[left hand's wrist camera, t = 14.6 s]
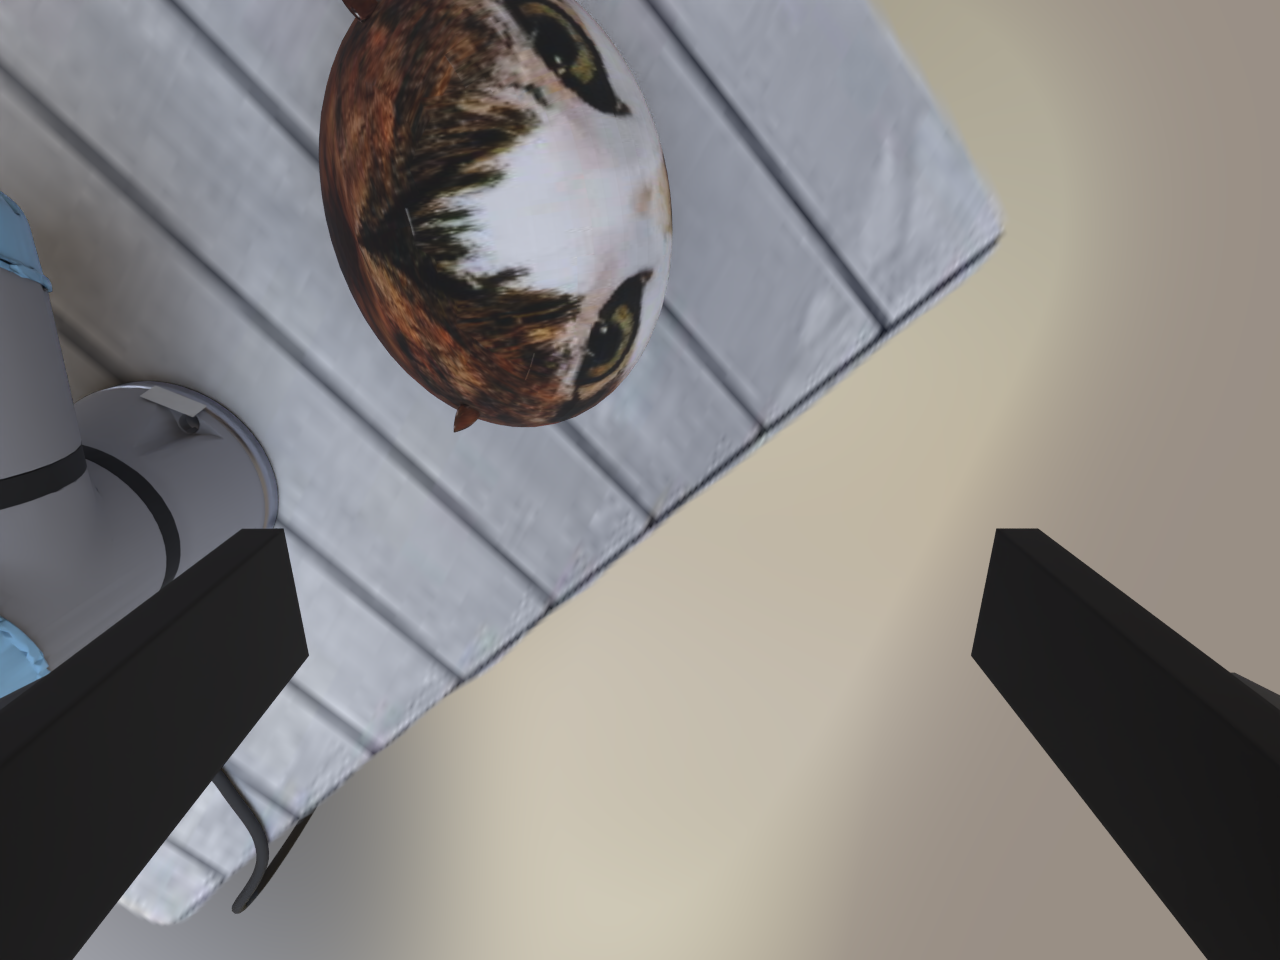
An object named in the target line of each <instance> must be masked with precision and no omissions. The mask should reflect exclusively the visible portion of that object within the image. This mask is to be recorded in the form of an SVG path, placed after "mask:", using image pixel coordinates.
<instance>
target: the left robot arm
mask: <svg viewBox="0 0 1280 960" xmlns="http://www.w3.org/2000/svg"><path fill="white" fill-rule="evenodd" d="M48 292H52V285H51V282H50V280H49V279H48V278H47V277H46V276H45V275H43V272H42V269H41V265H40V261H39V258H38V254H37V251H36V247H35V244H34V240H33V237H32V233H31V230H30V226H29V223H28V221H27V219H26V217H25V215H24V213H23V211H22V210H21V209H20V207H19V206H18V205H17V204H16V203H15V202H14V201H13V200H12V199H11V198H9V197H8V196H7V195H5V194H4V193H3V192H1V191H0V960H73V958H74V957H75V956H76V954H77V953H78V952H79V951H80V949H81V948H82V947H83V945H84V944H85V943H86V942H87V940H88V939H89V938H90V936H91V935H92V934H93V933H94V931H95V930H96V929H97V927H98V926H99V925H100V924H101V922H102V921H103V920H104V918H105V917H106V916H107V915H108V913H109V912H110V911H111V909H112V908H113V907H114V906H115V904H116V903H117V902H118V900H119V899H120V898H121V897H122V895H123V894H124V893H125V891H126V890H127V889H128V888H129V886H130V885H131V884H132V882H133V881H134V880H135V879H136V877H137V876H138V875H139V873H140V872H141V871H142V870H143V868H144V867H145V866H146V864H147V863H148V862H149V861H150V859H151V858H152V857H153V855H154V854H155V853H156V852H157V850H158V849H159V848H160V846H161V845H162V844H163V843H164V841H165V840H166V839H167V837H168V836H169V835H170V834H171V832H172V831H173V830H174V828H175V827H176V826H177V825H178V823H179V822H180V821H181V819H182V818H183V817H184V816H185V814H186V813H187V812H188V810H189V809H190V808H191V807H192V805H193V804H194V803H195V801H196V800H197V799H198V798H199V796H200V795H201V794H202V792H203V791H204V790H205V789H206V787H207V786H208V785H209V783H210V782H211V781H212V782H213V783H214V784H215V785H216V787H217V788H218V789H219V791H220V792H221V794H222V795H223V796H224V798H225V799H226V801H227V802H228V803H229V805H230V806H231V807H232V809H233V810H234V811H235V813H236V814H237V815H238V816H239V818H240V819H241V820H242V822H243V823H244V825H245V826H246V828H247V829H248V831H249V833H250V834H251V836H252V838H253V841H254V844H255V848H256V854H257V859H256V865H255V869H254V871H253V874H252V876H251V878H250V879H249V881H248V883H247V884H246V886H245V887H244V889H243V890H242V892H241V893H240V894H239V896H238V897H237V899H236V900H235V902H234V904H233V905H232V911H233V912H234V913H235V914H238V913H241V912H242V911H244V910H245V909H246V908H247V907H248V906H249V905H250V904H251V903H252V902H253V901H254V900H255V899H256V897H257V896H258V895H259V894H260V893H261V891H262V890H263V889H264V887H265V886H266V885H267V884H268V882H269V881H270V879H271V878H272V877H273V875H274V874H275V872H276V871H277V869H278V868H279V866H280V865H281V863H282V862H283V861H284V859H285V857H286V856H287V855H288V853H289V851H290V850H291V848H292V847H293V845H294V844H295V842H296V841H297V839H298V837H299V836H300V834H301V833H302V831H303V829H304V828H305V826H306V824H307V823H308V821H309V820H310V818H311V816H312V815H313V813H314V811H315V810H316V808H317V806H316V807H315V808H314V809H312V810H311V811H310V812H308V813H307V814H306V815H305V816H304V817H303V818H301V819H300V820H299V821H298V822H297V824H296V826H295V827H294V829H293V830H292V832H291V833H290V835H289V836H288V838H287V839H286V841H285V842H284V844H283V845H282V847H281V848H280V850H279V851H278V853H277V854H276V856H275V857H274V859H273V860H272V862H271V863H270V864H269V866H268V867H267V865H268V860H269V849H268V843H267V839H266V836H265V834H264V831H263V829H262V827H261V825H260V824H259V822H258V820H257V819H256V817H255V815H254V814H253V813H252V811H251V810H250V808H249V807H248V806H247V804H246V803H245V802H244V800H243V799H242V798H241V796H240V795H239V794H238V792H237V791H236V790H235V788H234V787H233V785H232V784H231V782H230V781H229V780H228V778H227V777H226V775H225V774H224V773H223V772H222V771H221V768H222V767H223V765H224V764H225V763H226V762H227V760H228V759H229V758H230V756H231V755H232V754H233V753H234V751H235V750H236V749H237V747H238V746H239V745H240V744H241V742H242V741H243V740H244V738H245V737H246V736H247V735H248V733H249V732H250V731H251V729H252V728H253V727H254V726H255V724H256V723H257V722H258V720H259V719H260V718H261V717H262V715H263V714H264V713H265V711H266V710H267V709H268V708H269V706H270V705H271V704H272V702H273V701H274V700H275V699H276V697H277V696H278V695H279V693H280V692H281V691H282V690H283V688H284V687H285V686H286V684H287V683H288V682H289V681H290V679H291V678H292V677H293V675H294V674H295V673H296V672H297V670H298V669H299V668H300V666H301V665H302V664H303V663H304V661H305V660H306V659H307V657H308V656H309V653H308V648H307V643H306V638H305V633H304V628H303V623H302V618H301V613H300V608H299V603H298V598H297V593H296V588H295V583H294V578H293V573H292V568H291V563H290V558H289V553H288V548H287V543H286V538H285V533H284V529H273V527H274V525H275V521H276V517H277V511H278V491H277V485H276V479H275V476H274V473H273V469H272V467H271V464H270V462H269V460H268V458H267V456H266V454H265V452H264V450H263V448H262V447H261V445H260V444H259V442H258V441H257V439H256V438H255V437H254V435H253V434H252V433H251V432H250V430H249V429H248V428H247V427H246V426H245V425H244V424H243V423H242V422H241V421H240V420H239V419H238V418H237V417H236V416H235V415H233V414H232V413H231V412H230V411H228V410H227V409H226V408H224V407H223V406H221V405H220V404H219V403H217V402H215V401H214V400H212V399H210V398H208V397H207V396H205V395H202V394H200V393H198V392H196V391H193V390H191V389H188V388H185V387H182V386H178V385H175V384H170V383H164V382H155V381H139V382H130V383H125V384H121V385H117V386H114V387H111V388H107V389H104V390H101V391H97V392H94V393H92V394H90V395H87V396H85V397H83V398H82V399H80V400H79V401H77V402H76V403H74V404H73V399H72V395H71V391H70V386H69V382H68V378H67V373H66V369H65V364H64V360H63V356H62V351H61V347H60V343H59V338H58V334H57V329H56V325H55V321H54V316H53V312H52V307H51V303H50V299H49V294H48ZM971 656H972V657H973V659H974V660H975V661H976V663H977V664H978V665H979V666H980V668H981V669H982V670H983V672H984V673H985V674H986V675H987V677H988V678H989V679H990V681H991V682H992V683H993V684H994V686H995V687H996V688H997V690H998V691H999V692H1000V693H1001V695H1002V696H1003V697H1004V699H1005V700H1006V701H1007V702H1008V704H1009V705H1010V706H1011V708H1012V709H1013V710H1014V711H1015V713H1016V714H1017V715H1018V717H1019V718H1020V719H1021V720H1022V722H1023V723H1024V724H1025V726H1026V727H1027V728H1028V729H1029V731H1030V732H1031V733H1032V735H1033V736H1034V737H1035V738H1036V740H1037V741H1038V742H1039V744H1040V745H1041V746H1042V747H1043V749H1044V750H1045V751H1046V753H1047V754H1048V755H1049V756H1050V758H1051V759H1052V760H1053V762H1054V763H1055V764H1056V765H1057V767H1058V768H1059V769H1060V771H1061V772H1062V773H1063V774H1064V776H1065V777H1066V778H1067V780H1068V781H1069V782H1070V783H1071V785H1072V786H1073V787H1074V789H1075V790H1076V791H1077V792H1078V794H1079V795H1080V796H1081V798H1082V799H1083V800H1084V801H1085V803H1086V804H1087V805H1088V807H1089V808H1090V809H1091V810H1092V812H1093V813H1094V814H1095V816H1096V817H1097V818H1098V819H1099V821H1100V822H1101V823H1102V825H1103V826H1104V827H1105V828H1106V830H1107V831H1108V832H1109V834H1110V835H1111V836H1112V837H1113V839H1114V840H1115V841H1116V843H1117V844H1118V845H1119V846H1120V848H1121V849H1122V850H1123V852H1124V853H1125V854H1126V855H1127V857H1128V858H1129V859H1130V861H1131V862H1132V863H1133V864H1134V866H1135V867H1136V868H1137V870H1138V871H1139V872H1140V873H1141V875H1142V876H1143V877H1144V879H1145V880H1146V881H1147V882H1148V884H1149V885H1150V886H1151V888H1152V889H1153V890H1154V891H1155V893H1156V894H1157V895H1158V897H1159V898H1160V899H1161V900H1162V902H1163V903H1164V904H1165V906H1166V907H1167V908H1168V909H1169V911H1170V912H1171V913H1172V915H1173V916H1174V917H1175V918H1176V920H1177V921H1178V922H1179V924H1180V925H1181V926H1182V927H1183V929H1184V930H1185V931H1186V932H1187V934H1188V935H1189V936H1190V938H1191V939H1192V940H1193V941H1194V943H1195V944H1196V945H1197V947H1198V948H1199V949H1200V951H1201V952H1202V953H1203V954H1204V956H1205V957H1206V958H1207V960H1280V695H1278V694H1276V693H1274V692H1272V691H1270V690H1268V689H1266V688H1264V687H1262V686H1260V685H1258V684H1256V683H1254V682H1252V681H1250V680H1248V679H1246V678H1244V677H1242V676H1240V675H1238V674H1236V673H1230V672H1229V671H1227V670H1226V669H1225V668H1223V667H1222V666H1221V665H1219V664H1218V663H1216V662H1215V661H1214V660H1213V659H1211V658H1210V657H1209V656H1207V655H1206V654H1205V653H1203V652H1202V651H1201V650H1199V649H1198V648H1197V647H1195V646H1194V645H1193V644H1191V643H1190V642H1189V641H1187V640H1186V639H1185V638H1183V637H1182V636H1181V635H1179V634H1178V633H1177V632H1175V631H1174V630H1173V629H1171V628H1170V627H1169V626H1167V625H1166V624H1165V623H1163V622H1162V621H1161V620H1159V619H1158V618H1156V617H1155V616H1154V615H1152V614H1151V613H1150V612H1148V611H1147V610H1146V609H1145V608H1143V607H1142V606H1141V605H1139V604H1138V603H1137V602H1135V601H1134V600H1133V599H1131V598H1130V597H1129V596H1127V595H1126V594H1125V593H1123V592H1122V591H1121V590H1119V589H1118V588H1116V587H1115V586H1114V585H1113V584H1111V583H1110V582H1109V581H1107V580H1106V579H1105V578H1103V577H1102V576H1101V575H1099V574H1098V573H1097V572H1095V571H1094V570H1093V569H1091V568H1090V567H1089V566H1087V565H1086V564H1085V563H1083V562H1082V561H1081V560H1079V559H1078V558H1076V557H1075V556H1074V555H1073V554H1071V553H1070V552H1069V551H1067V550H1066V549H1064V548H1063V547H1062V546H1061V545H1059V544H1058V543H1057V542H1055V541H1054V540H1052V539H1051V538H1050V537H1049V536H1047V535H1046V534H1045V533H1043V532H1042V531H1041V530H1039V529H996V533H995V538H994V543H993V548H992V553H991V558H990V563H989V568H988V573H987V578H986V583H985V588H984V594H983V598H982V603H981V608H980V613H979V618H978V623H977V628H976V633H975V638H974V643H973V648H972V653H971ZM266 868H267V869H266Z"/></svg>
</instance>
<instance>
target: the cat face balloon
mask: <svg viewBox="0 0 1280 960" xmlns="http://www.w3.org/2000/svg"><path fill="white" fill-rule="evenodd" d="M342 1H343V2H344V4H345V5H346V7H347V8H348V9H349V11H350V12H351V13H352V14H353V15H354V16H355V17H356V18H355V19H354V21H353V23H352V24H351V26H350V28H349V30H348V31H347V33H346V35H345V37H344V38H343V40H342V43H341V45H340V47H339V49H338V52H337V54H336V57H335V60H334V62H333V65H332V68H331V72H330V75H329V79H328V82H327V86H326V91H325V96H324V101H323V106H322V111H321V122H320V134H319V169H320V182H321V191H322V199H323V204H324V210H325V216H326V221H327V225H328V229H329V233H330V237H331V241H332V244H333V247H334V250H335V253H336V256H337V259H338V262H339V266H340V268H341V271H342V273H343V275H344V277H345V280H346V282H347V284H348V287H349V289H350V291H351V293H352V295H353V297H354V299H355V301H356V303H357V305H358V307H359V309H360V311H361V312H362V314H363V316H364V318H365V320H366V321H367V323H368V324H369V326H370V327H371V329H372V330H373V332H374V333H375V335H376V336H377V338H378V339H379V340H380V342H381V343H382V344H383V346H384V347H385V348H386V350H387V351H388V352H389V354H390V355H391V356H392V357H393V358H394V359H395V360H396V361H397V363H398V364H399V365H400V366H401V367H402V368H403V369H404V370H405V371H406V372H407V373H408V374H409V375H410V376H411V377H412V378H413V379H415V380H416V381H417V382H418V383H419V384H420V385H422V386H423V387H424V388H425V389H426V390H427V391H429V392H430V393H431V394H433V395H434V396H436V397H437V398H438V399H440V400H442V401H443V402H445V403H446V404H448V405H450V406H451V407H453V408H455V409H457V413H456V416H455V421H454V432H458V431H461V430H463V429H466V428H468V427H469V426H471V425H472V424H473V423H474V422H475V421H476V420H477V419H480V420H484V421H487V422H490V423H494V424H499V425H505V426H512V427H537V426H544V425H550V424H556V423H559V422H561V421H564V420H567V419H570V418H573V417H576V416H578V415H580V414H581V413H583V412H585V411H587V410H589V409H590V408H592V407H594V406H595V405H597V404H598V403H599V402H601V401H602V400H603V399H604V398H606V397H607V396H608V395H609V394H610V393H612V392H613V391H614V390H615V389H616V388H617V386H618V385H619V384H620V383H621V382H622V381H623V380H624V379H625V378H626V377H627V375H628V374H629V373H630V371H631V370H632V369H633V367H634V366H635V364H636V363H637V361H638V360H639V358H640V357H641V355H642V353H643V351H644V349H645V348H646V346H647V344H648V342H649V340H650V337H651V335H652V333H653V330H654V328H655V325H656V323H657V321H658V318H659V315H660V311H661V308H662V305H663V301H664V296H665V292H666V288H667V283H668V277H669V271H670V264H671V253H672V208H671V197H670V189H669V182H668V175H667V170H666V165H665V160H664V155H663V151H662V148H661V144H660V140H659V137H658V133H657V130H656V127H655V124H654V121H653V119H652V116H651V113H650V111H649V108H648V106H647V104H646V101H645V99H644V97H643V94H642V92H641V90H640V88H639V86H638V84H637V82H636V80H635V78H634V76H633V74H632V72H631V70H630V69H629V67H628V65H627V64H626V62H625V60H624V59H623V57H622V55H621V54H620V53H619V51H618V50H617V48H616V47H615V45H614V44H613V43H612V41H611V40H610V38H609V37H608V36H607V34H606V33H605V32H604V30H603V29H602V28H601V27H600V26H599V25H598V23H597V22H596V21H595V20H594V19H593V18H592V17H591V16H590V15H589V14H588V13H587V12H586V11H585V9H584V8H583V7H582V6H580V5H579V4H578V3H577V2H576V1H575V0H342Z"/></svg>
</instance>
